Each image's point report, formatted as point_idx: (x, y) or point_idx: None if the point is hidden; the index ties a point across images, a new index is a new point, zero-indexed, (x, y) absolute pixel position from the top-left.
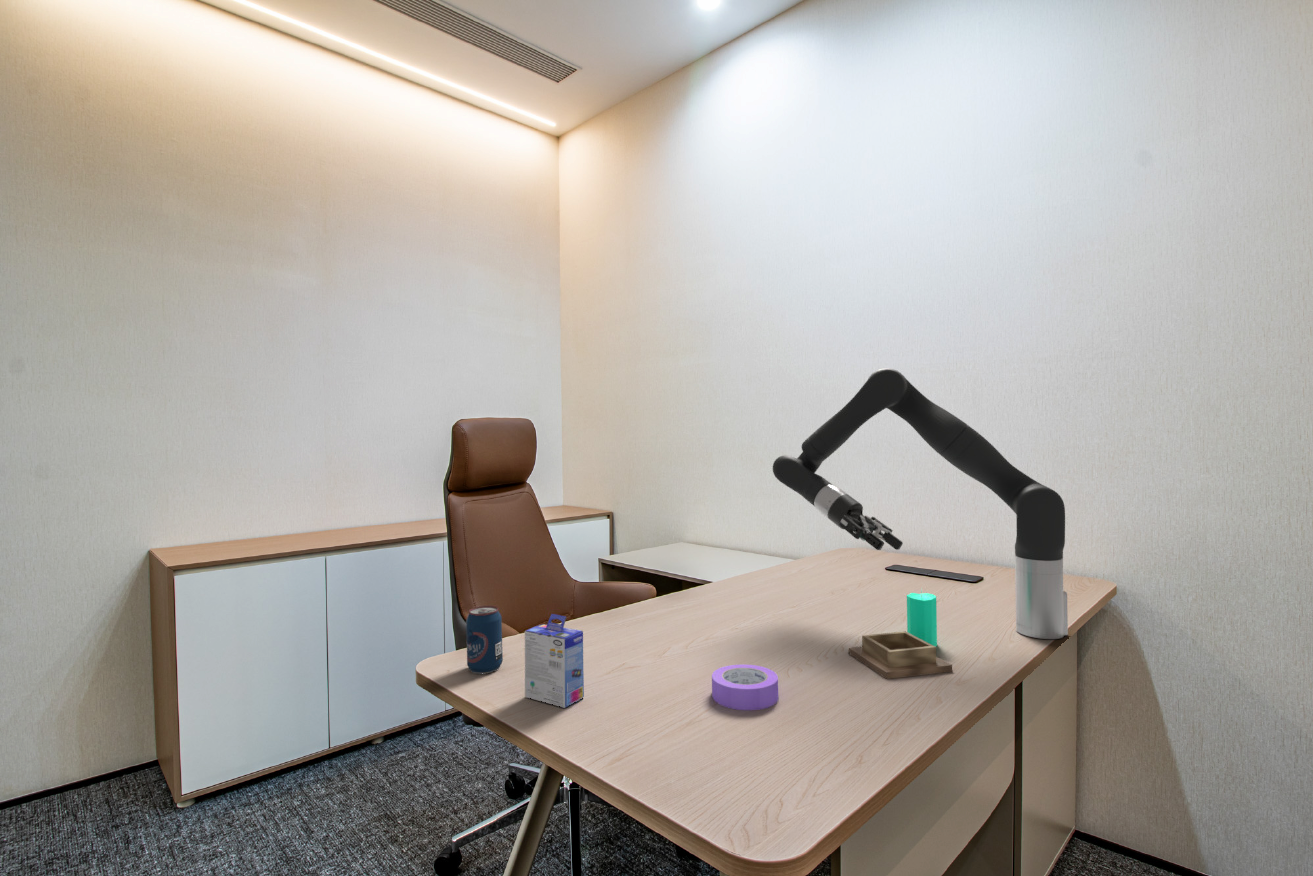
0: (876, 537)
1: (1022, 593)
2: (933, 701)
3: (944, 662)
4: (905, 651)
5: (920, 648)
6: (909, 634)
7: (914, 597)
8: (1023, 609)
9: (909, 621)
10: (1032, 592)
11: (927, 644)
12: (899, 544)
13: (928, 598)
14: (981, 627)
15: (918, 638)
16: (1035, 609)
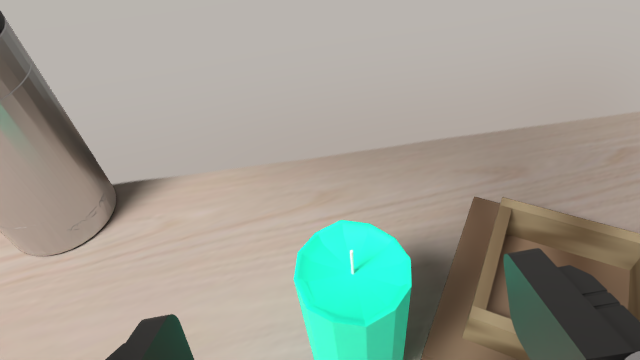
0: (573, 289)
1: (47, 150)
2: (637, 156)
3: (476, 212)
4: (604, 226)
5: (551, 211)
6: (483, 290)
7: (368, 293)
8: (74, 180)
9: (403, 336)
10: (59, 122)
11: (507, 216)
12: (178, 337)
13: (339, 253)
14: (80, 320)
15: (489, 255)
16: (84, 152)
